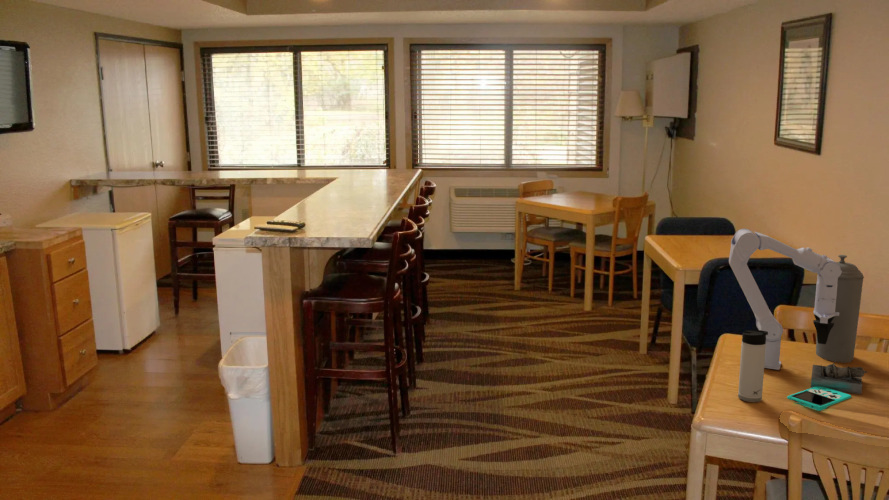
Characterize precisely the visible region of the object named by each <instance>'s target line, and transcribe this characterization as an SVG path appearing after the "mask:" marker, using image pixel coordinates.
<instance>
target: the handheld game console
mask: <svg viewBox="0 0 889 500" xmlns="http://www.w3.org/2000/svg"><path fill="white" fill-rule="evenodd" d="M850 398H852V394H850V393H847V392H841V391H836V390H833V389H829V388H825V387H818V386H816V387H810V388H807V389H804V390H801V391H798V392H796V393H792V394H789V395H787V396H786V399H788V400H790V401H793V403H794V404H797V405H799V406H803V407H807V408H809V409H813V410H815V411H819V412H822V411H824V410H827V409H828V408H829V407H830V406H833V405H835V404H838V403H842V401H846V400H848V399H850Z"/></svg>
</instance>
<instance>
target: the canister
mask: <svg viewBox="0 0 889 500" xmlns="http://www.w3.org/2000/svg"><path fill="white" fill-rule="evenodd" d="M838 257H839V259H840V260H839V261H835V262H836V263H838V264H839V266H840V268H841V271H842V273H841V275H840V276H839V277H838V281H837V296H836V307H835V312H839V316H834V319H833V320H832V322H831V323H834V326H833V327H832V329H831V330H830V333H829V336H828V339H827V342H826V344H819V343H818V340H817V338H816V339H815V340H816V342H815V343H816V344H815V354H816V356H817V357H819V358H821V359H824V360H826V361H830V362H833V363H839V362H841V363H842V364H844V363H845V364H846V363H847V362H848V363H851V361H852V360H853V361H854V357H855V351H856V350H855V349H856V340H857V332H858V326H859V317H860V309H861V302H862V301H861V300H862V292H863V282H864V279H865V277H864V274H863V272H861V270H860V269H859V268H858V266H856V265H855V264H854V263H850V262H846V260H845V259H846V258H847V257H848V255H845V254H839V255H838ZM820 276H821V275H820ZM853 361H852V362H853Z"/></svg>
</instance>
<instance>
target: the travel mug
mask: <svg viewBox="0 0 889 500" xmlns="http://www.w3.org/2000/svg"><path fill="white" fill-rule="evenodd" d="M766 335H768V331H762V330H759V329H749V330H744V332H742V335H741V336H742V337H741V348H740V362H739V377H738V379H739V380H738V392H737V393H738V394H737V397H738V399H740V400H741V401H744V402H748V403H749V402H750V403H758V402H761V401H763V392H764V391H763V388H764V378H765V377H764V375H765V368H764V363H765V349H766Z"/></svg>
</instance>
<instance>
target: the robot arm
mask: <svg viewBox="0 0 889 500" xmlns="http://www.w3.org/2000/svg"><path fill="white" fill-rule="evenodd" d="M729 250H730V251H729V254H728V255H729V257H728V264H729V266H730V268H731V270H732V272H733V274H734V276H735V278H736V280H737V282H738V284H739V287H740V288H741V290H742V292H743V294H744V296H745V298H746V300H747V302H748V304H749V306H750V308H751V310H752V312H753V314H754V318H755V325H756V328H757V330H762V331H768V335H766V349H765V363H764V369H771V370H777V371H779V370H780V369H781V366H782V361H781V360H780V357H781V343H782V335H783V333H784V328H783V326H782V324H781V323H780V322H779V321H778V320H777V318H776V316H775V315H773V314H772V312H771V310H770V309H769V306H768V304H767V301H766V300H765V298H764V296H763V294H762V292H761V290H760V288H759V286H758V284H757V282H756V280H755V278H754V276H753V274H752V272H751V270H750V268H749V265H748V262H749V260H750V258H751V256H752V255H753V254H754V253H755V252H756V251H757V250H760V251H765V250H771V251H773V252H774V253H778V254H781V255H782V256H785V257H788V258H791V259H792V262H793V264H794V265H795V266H798V267H800V268H802V269H805V270H807V271H809V272H811V273H813V274H817V275H816V276H817V279H816V286H815V287H816V289H815V296H814V298H815V299H814V309H813V316H814V318H815V319H813V321H812V322H813V325H814V327H815V331H816V339H817V340H818V343H819V344H826V342H827V339H828V336H829V333H830V330H831V329H832V327H833V326H834V323H831V322H832V320H833V319H834V316H839V312H835V307H836V296H837V281H838V277H839V276H840V275H841V273H842V271H841V268H840V266H839V264H838V263H836V262H837V261H835V260H833V259H832V258H830V257H828V256H827V255H825V254H823V255H822V254H820V253H817V252H814V251H813V249H812V248H811V247H808V246H807V247H800V248H794V247H792V246H790V244H786V243H784V242H782V241H780V240H778V239H776V238H774V237H771V236H769V235H767V234H764V233H761V232H758V231H754V230H753V231H752V230H751V229H748V228H740V229H739V230H737V231H735V233H734V235H733V237H732V238H731V240H730V249H729ZM820 275H821V276H820Z"/></svg>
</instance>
